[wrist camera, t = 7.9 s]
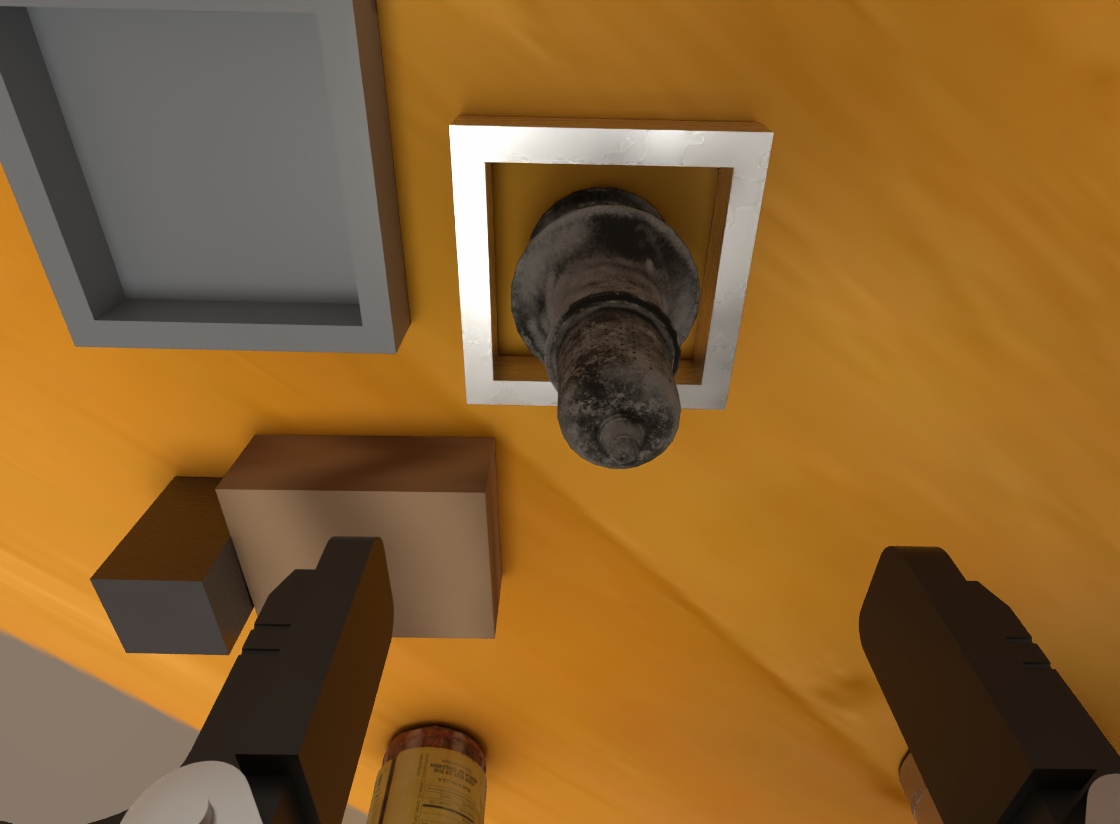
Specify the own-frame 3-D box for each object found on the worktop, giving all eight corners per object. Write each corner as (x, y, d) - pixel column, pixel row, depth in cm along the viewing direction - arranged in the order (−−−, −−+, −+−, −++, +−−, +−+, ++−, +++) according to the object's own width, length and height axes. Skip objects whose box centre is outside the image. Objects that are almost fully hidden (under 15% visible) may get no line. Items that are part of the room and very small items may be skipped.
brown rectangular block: (495, 433, 28) (484, 492, 24) (502, 571, 32) (494, 638, 29) (258, 430, 28) (214, 489, 25) (296, 568, 32) (264, 635, 29)
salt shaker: (553, 358, 26) (544, 593, 15) (491, 215, 23) (428, 387, 13) (701, 307, 24) (797, 525, 14) (655, 150, 22) (734, 282, 11)
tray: (372, -28, 19) (348, -32, 17) (410, 323, 25) (395, 353, 23) (-9, -37, 19) (-82, -41, 17) (117, 317, 25) (75, 346, 23)
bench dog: (266, 478, 29) (202, 581, 24) (284, 547, 31) (228, 655, 26) (174, 476, 29) (90, 578, 24) (199, 545, 31) (126, 652, 26)
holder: (757, 122, 21) (774, 132, 19) (714, 383, 26) (725, 409, 24) (458, 115, 21) (449, 125, 19) (473, 377, 26) (466, 403, 24)
